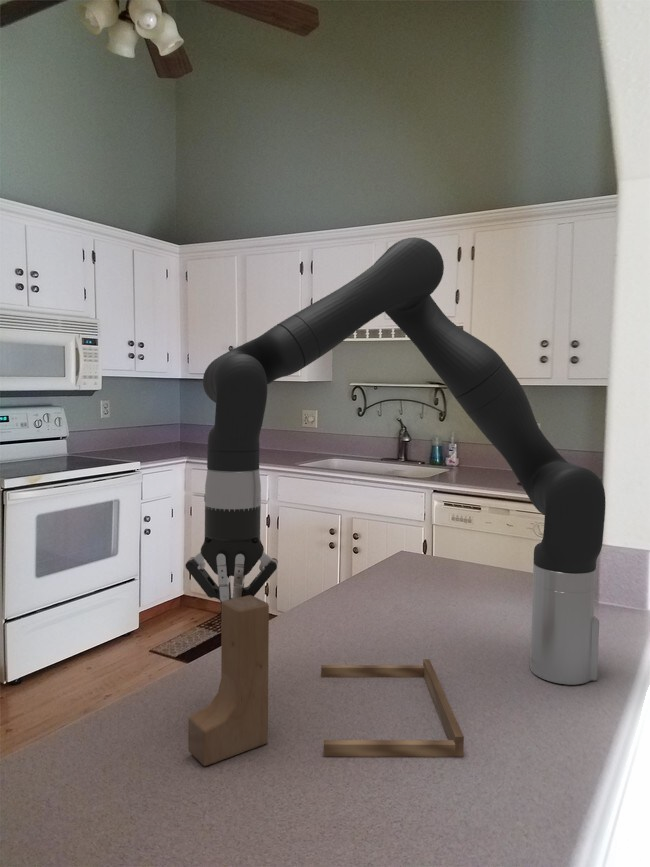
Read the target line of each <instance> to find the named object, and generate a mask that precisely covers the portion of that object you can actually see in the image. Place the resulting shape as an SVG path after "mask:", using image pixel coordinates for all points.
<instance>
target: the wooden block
mask: <svg viewBox="0 0 650 867" xmlns="http://www.w3.org/2000/svg"><path fill="white" fill-rule="evenodd" d="M269 609H270V605H269V603H267V602H266V601H264V600H261V599H260V598H258V597H256V596H252V595H248V596H244V597H239V598H234V599H229V600H224V601H222V621H221V620H220V623H221V632H220V633H221V640H220V641H221V643H220V644H221V645H220V646H221V647H220V648H221V651H220V652H221V654H220V655H221V657H220V658H221V661H220V662H221V664H220V665H221V668H220V669H221V670H220V672H221V673H220V675H221V678H220V682H219V685H218V691H217V694H215V696H214V697H213V699H212V701H211V702H210V703H209V704H208V705H207V706H206V707H204V708H202V709H201V710H198V711H197V712H195V713H192V714H191V715H189V716H188V719H187V724H188V725H187V726H188V727H187V730H188V736H187V738H188V740H187V741H188V742H187V743H188V746H187V747H188V748H187V749H188V751H189V753H190V754H191V756H194V758H195V759H196V760H197V762H198V761H199V763H200V764H201V765H202V766H204V767H207V766H209V765H213V764H215V763H218V762H221V761H223V760H226V759H229V758H232V757H234V756H236V755H237V756H238V755H239V754H240V755H241V754H242V753H246V751H247V752H248V751H250V750H253V749H255V748H258V747H261V746H264V745H266V744H267V743H268V741H269V640H270V639H269V638H270V637H269V636H270V635H269V634H270V633H269V629H270V628H269V627H270V626H269V623H270V622H269V621H270V620H269V619H270V617H269V616H270V615H269V614H270V610H269Z"/></svg>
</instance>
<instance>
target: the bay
mask: <svg viewBox="0 0 650 867" xmlns="http://www.w3.org/2000/svg"><path fill="white" fill-rule="evenodd" d="M320 669H321V670H320V677H321V678H424V681H425V684H426V687H427V688H428V691H429V694H430V696H431V699H432V702H433V704H434V707H435V710H436V712H437V714H438V717H439V719H440V723H441V725H442V727H443V729H444V730H443V731H444V732H445V734H446V737H447V739H444V740H443V739H437V740H435V739H431V740H430V739H425V740H424V739H423V740H421V739H416V740H415V739H412V740H411V739H405V740H404V739H396V740H395V739H387V740H386V739H323V757H361V758H362V757H370V758H371V757H373V758H374V757H376V758H377V757H385V758H386V757H397V758H398V757H399V758H400V757H403V758H404V757H406V758H407V757H410V758H411V757H412V758H414V757H420V758H421V757H423V758H424V757H426V758H427V757H428V758H429V757H435V758H436V757H438V758H439V757H443V758H444V757H446V758H447V757H449V758H450V757H452V758H454V757H455V758H456V757H457V758H459V757H461V758H462V757H464V745H465V744H464V743H465V742H464V741H465V736H464V734H463V732H462V729H461V726H460V725H459V723H458V720H457V718H456V716H455V713H454V712H453V708H452V707H451V705H450V702H449V700H448V697H447V696H446V693H445V691H444V688H443V687H442V685H441V682H440V680H439V677H438V675H437V673H436V671H435V669H434V666H433V663H432V661H431V660H430V658H422V665H420V664H419V665H417V664H413V665H412V664H410V665H405V664H402V665H401V664H400V665H399V664H395V665H392V664H387V665H386V664H380V665H379V664H377V665H375V664H321V665H320Z"/></svg>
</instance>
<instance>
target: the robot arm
mask: <svg viewBox="0 0 650 867" xmlns="http://www.w3.org/2000/svg"><path fill="white" fill-rule="evenodd" d="M444 269H445V264H444V259H443V256H442V254H441V253H440V251H439V249H438V248H437V247H436V245H434V244H433V243H431V242H430V241H428V240H427V239H424V238H422V237H407V238H403V239H401V240H398V241H397V242H395V243H394V244H392V245H391V246H390V247H388V249H387V250H386V251H385V252H384V253H383V254H382V255H381V256H380V257H379V258H378V259H377V260H376V261H375V262H374V263H373V264H372V265H371V266H370V267H369V268H367V269H366V270H364V271H363V272H362V273H360V274H359V275H358V276H355V278H354V279H352V280H350V281H348V282H347V283H346V284H344V285H342V286H341V287H339V288H338V289H336V290H335V291H332V292H330V293H329V294H328V295H327V294H326V296H324V297H322V298H321V299H319V300H317V301H315V302H313V303H311V304H309V305H307V306H306V307H304V308H302V309H301V310H299V311H298V312H297V311H296V312H295V313H294V314H292V315H290V316H289V317H287V318H286V319H284V320H282V321H281V322H279V323H277V324H276V325H274V326H273V327H271V328H270V329H269V330H267V331H265V332H264V333H262V334H261V335H259V336H258V337H256V338H254V339H251V340H250V341H247V342H244V343H243V344H240V345H238V346H236V347H234V348H233V349H231V350H228V351H227V352H225V353H223V354H222V355H220V356H218V357H217V358H215V359H214V360H213V361H212V362H210V363H209V365H208V366H207V367H206V368H205V371H204V373H203V378H202V388H203V390H204V392H205V394H206V395H207V397H208V398H209V399H210V400H211V401H212V402H213V403H215V414H214V425H213V427H212V428H211V429H210V431H209V433H208V436H207V450H206V451H207V452H206V454H207V457H206V459H207V460H206V467H207V469H206V476H205V477H206V478H205V485H204V489H205V490H204V495H203V497H204V498H203V501H204V541H203V543H202V545H201V547H200V552H199V553H197V554H195V556H192V557H190V558H189V559H188V560H187V561H186V563H185V569H186V571H187V572H189V574H190V575H191V576H192V578H193V579H194V580H195V581H196V583H197V584H198V586H199V587H200V588H201V589H202V591H203V592H204V593H205V594H206V596H207V597H208V598H210V599H213V598H215V599H217V600H219V602H220V622H221V621H222V601H224V600H229V599H234V598H239V597H244V596H248V595H252V596H254V597H256V595H257V593H258V592H260V590H261V588H263V586H264V585H265V584H266V582H267V581H268V580H269V579H270V577H272V576H273V574H274V572H276V570H277V568H278V564H279V563H278V559H277V558H274V557H270V556H269V554H267V553H265V552H264V551H265V549H264V548H265V547H264V545H263V543H262V540H261V511H262V510H261V508H262V507H261V501H262V488H261V487H262V486H261V485H262V484H261V483H262V482H261V475H260V449H261V448H260V434H261V431H262V427H263V423H264V422H263V421H264V418H265V412H266V407H267V406H266V405H267V398H268V385H269V384H271V383H272V382H274V381H276V380H279V379H281V378H283V377H288V376H290V375H293V374H296V373H297V372H299V371H301V370H302V369H304V368H306V367H307V366H309V365H310V364H312V363H313V362H315V361H317V360H318V359H320V358H321V357H323V356H324V355H325V354H327V353H329V352H330V351H331V350H333V349H334V348H335V347H337V346H338V345H340V344H341V343H343V342H344V341H345V340H347V338H349V337H351V336H352V335H353V334H354V333H355V332H357V331H358V330H360V329H361V328H362V327H363V326H365V325H366V324H368V323H369V322H370V321H373V320H374V319H375V318H377V317H378V316H380V315H382V314H383V313H384V314H386V315H387V316H388V318H390V320H391V321H392V322H394V324H395V325H396V326H397V327H398V328H399V329H400V330H401V331H402V332H403V334H405V335H406V337H408V339H409V340H410V341H411V342H412V343H413V344H414V346H415V347H417V349H418V350H419V352H420V353H421V355H422V356H423V357H424V358H425V360H426V361H427V363H428V364H429V365H430V367H431V368H432V369H433V370H434V371H435V373H436V374H437V375H438V377H439V378H440V379H441V381H442V382H443V383H444V384H445V386H446V387H447V388H448V390H449V391H450V393H451V395H452V396H453V397H454V399H455V401H457V403H459V405H460V407H461V408H462V410H464V412H465V413H466V415H467V417H469V418H470V419H471V420H472V422H473V423H474V424H475V425H476V427H477V428H478V429H479V430H480V432H482V434H483V435H484V437H485V438H487V440H488V441H489V442H490V443H491V444H492V446H493V447H494V448H495V449H496V450H497V451H498V452H499V453H500V454H501V455H502V457H503V458H504V460H505V461H506V463H507V464H508V465H509V467H510V468H511V470H512V472H513V474H514V475H515V477H516V478H517V480H518V483H519V484H520V485H521V487H522V488H523V491H525V493H526V495H527V497H528V499H529V500H530V502H531V504H532V505H533V506H534V507H535V509H536V510H537V511H538V512H539V513H540V514H541V515H542V516H544V523H543V534H542V540H541V542H539V543H537V544H536V545H535V546H534V548H533V549H534V550H533V568H532V594H531V596H532V598H531V623H530V624H531V626H530V628H531V629H530V632H531V633H530V654H529V660H530V664H529V669H530V671H531V672H532V673H533V675H535V676H536V677H538V678H540V679H543V680H545V681H547V682H551V683H555V684H561V685H562V684H563V685H569V686H570V685H575V686H576V685H582V684H587V683H589V682H590V681H598V665H599V645H600V644H599V643H600V642H599V640H600V638H599V637H600V620H599V619H598V617H596V616H595V602H596V601H595V599H596V596H595V595H596V573H597V560H598V557H599V555H600V553H601V551H602V548H603V541H604V531H605V530H604V529H605V519H606V517H605V516H606V504H607V503H606V492H605V488H604V484H603V482H602V480H601V479H600V477H599V476H598V475H597V474H596V473H595V472H593V471H592V470H590V469H589V468H586V467H583V466H580V465H576V464H571V463H570V462H568V461H567V460H566V459H565V458H564V457H563V456H562V455H561V454H560V453H559V452H558V450H557V449H556V448H555V447H554V445H552V443H551V442H550V441H549V440H548V439H547V437H546V435H545V434H544V433H543V431H542V430H541V428H540V426H539V424H538V422H537V420H536V418H535V414H534V412H533V409H532V406H531V403H530V401H529V399H528V396H527V394H526V392H525V390H524V388H523V387H522V385H521V383H520V381H519V380H518V378H517V377H516V375H515V374H514V373H513V372H512V370H511V369H510V368H509V366H508V365H507V364H506V362H505V361H504V359H503V358H502V357H501V356H500V354H499V353H498V352H496V351H495V350H494V349H493V348H492V347H490V346H489V345H488V344H487V343H485V342H483V341H482V340H480V339H479V338H478V337H475V336H474V335H472V334H471V333H469V332H467V331H465V330H464V329H463V328H461V327H460V326H457V324H455V323H454V322H453V321H452V320H450V318H449V317H447V315H446V314H445V313H444V312H443V311H442V309H441V308H440V307H439V305H438V304H437V303H436V301H435V300H434V299H433V297H432V296H431V295H432V294H433V293H434V292H435V291H436V289H437V288H438V287H439V285H440V283H441V281H442V279H443V275H444V271H445V270H444ZM258 561H260V562H259V563H260V564H259V568H258V569H259V573H257V575H256V576H255V577H254V579H253V580H252V581H251V582H250V584H249V585H248V586H246V587H245V580H246V576H247V575H248V574H250V572H251V571H252V570H253V568H254V567H255V566H256V564H257V563H258ZM206 563H207V564H208V566H209V568H210V569H211V570H212V571H213V572H214V574H215V575H217V580H218V584H217V583H216V582H215V581H214V579H213V578H212V577H211V574H209V573H208V571H207V570H206V569H205V568H206V565H207V564H206ZM231 577H233V587H232V585H231V584H232V582H231V579H232V578H231ZM232 588H233V590H232Z"/></svg>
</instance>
